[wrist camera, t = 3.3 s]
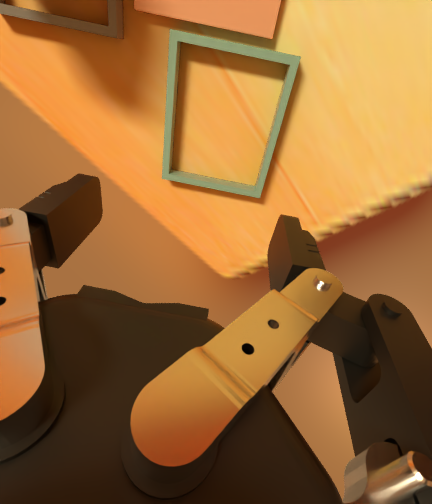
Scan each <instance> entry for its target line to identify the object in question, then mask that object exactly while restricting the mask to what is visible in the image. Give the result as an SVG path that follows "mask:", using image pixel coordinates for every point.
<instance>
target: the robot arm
mask: <svg viewBox="0 0 432 504" xmlns="http://www.w3.org/2000/svg"><path fill="white" fill-rule="evenodd" d="M102 211H103V210H102V198H101V187H100V181H99V179H98V177H94V176H89V175H84V174H77V175H76V176H74V177H73V178H71V179H70V180H68V181H67V182H64V183H61V184H58V185H54V186H52V187H51V188H50V189H48V190H46V191H45V193H44V192H43V193H42V194H40V195H39V197H36V198H34V199H33V200H32V201H30V202H29V203H27V204H25V205H24V206H23V207H21V208H20V209H12V208H2V209H0V504H432V348H431V347H430V345H429V343H428V341H427V339H426V338H425V336H424V334H423V332H422V331H421V329H420V327H419V325H418V324H417V322H416V320H415V318H414V316H413V315H412V313H411V312H410V310H409V309H407V307H406V306H405V305H403V304H402V303H400V302H399V301H397V300H396V299H394V298H392V297H390V296H386V295H382V294H373V295H371V296H370V297H369V299H368V300H367V301H366V302H365V301H363V300H361V299H358V298H356V297H353V296H351V295H349V294H346V293H344V292H343V285H342V283H341V282H340V281H339V279H338V278H337V277H335V276H334V275H333V274H331V273H329V272H327V271H326V269H325V267H324V264H323V261H322V258H321V256H320V254H319V250H318V248H317V244H316V241H315V239H314V237H313V236H312V235H311V234H310V233H309V232H308V231H305V230H302V228H301V225H300V222H299V219H298V218H297V217H292V216H287V215H282V214H281V215H280V217H279V219H278V221H277V224H276V227H275V230H274V233H273V236H272V238H271V241H270V244H269V248H268V267H269V278H270V288H271V291H270V292H269V293H268V294H266V295H265V296H264V297H263V298H262V299H260V300H259V301H258V302H257V303H255V304H254V305H253V306H252V307H250V308H249V309H248V310H247V311H246V312H244V313H243V314H242V315H241V316H239V317H238V318H237V319H236V320H235V321H233V322H232V323H231V324H230V325H228V326H227V327H226V328H223V327H222V326H221V325H219V324H217V323H216V322H214V321H212V320H210V319H208V318H207V317H208V309H206V308H201V307H195V306H190V305H185V304H180V303H152V304H151V303H147V304H146V303H142V302H139V301H137V300H134V299H132V298H130V297H127V296H125V295H123V294H121V293H118V292H116V291H112V290H107V289H101V288H96V287H91V286H86V285H83V287H82V288H81V290H80V291H79V292H78V294H70V295H62V296H57V297H53V298H49V299H48V297H47V292H46V287H45V281H44V276H43V272H42V268H43V267H44V266H49V267H55V268H59V267H61V265H62V264H63V263H64V262H65V261H66V260H67V259H68V257H69V256H70V255H71V254H72V253H73V252H74V251H75V249H77V247H78V246H79V245H80V244H81V243H82V242H83V240H85V238H86V237H87V236H88V235H89V234H90V233H91V232H92V231H93V229H94V228H95V227H96V226H97V225H98V224H99V222H100V220H101V218H102ZM311 342H312V343H314V344H316V345H318V346H320V347H322V348H324V349H326V350H328V351H330V352H332V353H333V356H334V361H335V366H336V370H337V375H338V379H339V384H340V389H341V393H342V397H343V402H344V407H345V412H346V416H347V420H348V425H349V430H350V434H351V439H352V444H353V449H354V453H355V458H353V459H352V460H351V461H349V463H348V464H347V466H346V469H345V473H344V484H345V493H344V498H343V502H342V499H341V497H340V494H339V492H338V490H337V488H336V486H335V484H334V483H333V481H332V479H331V477H330V476H329V474H328V473H327V471H326V470H325V468H324V467H323V465H322V464H321V462H320V461H319V459H318V458H317V457H316V455H315V454H314V452H313V451H312V449H311V448H310V446H309V445H308V443H307V442H306V441H305V439H304V438H303V436H302V435H301V433H300V432H299V430H298V429H297V427H296V426H295V424H294V423H293V422H292V420H291V419H290V417H289V416H288V414H287V413H286V411H285V410H284V409H283V407H282V406H281V404H280V403H279V401H278V400H277V398H276V397H275V395H274V394H273V392H274V391H275V390H276V388H277V387H278V385H279V384H280V382H281V381H282V380H283V378H284V377H285V375H286V374H287V373H288V371H289V370H290V369H291V368H292V366H293V365H294V364H295V362H296V361H297V360H298V358H299V357H300V356H301V355H302V353H303V352H304V351H305V350H306V348H307V347H308V346H309V344H310V343H311Z"/></svg>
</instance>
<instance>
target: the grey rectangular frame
mask: <svg viewBox="0 0 432 504" xmlns="http://www.w3.org/2000/svg"><path fill="white" fill-rule="evenodd" d="M107 4H108V23H109V26H105V25H100V24H96V23H91V22H86V21H82V20H77V19H72V18H67V17H63V16H58V15H53V14H49V13H44V12H39V11H34V10H30V9H25V8H20V7H16V6H11V5H6V4H5V1H4V0H0V14H5V15H9V16H14V17H19V18H24V19H28V20H33V21H38V22H43V23H47V24H52V25H57V26H62V27H66V28H71V29H76V30H80V31H85V32H90V33H95V34H99V35H104V36H109V37H114V38H119V39H123V4H122V0H107Z"/></svg>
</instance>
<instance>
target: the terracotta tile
mask: <svg viewBox="0 0 432 504" xmlns="http://www.w3.org/2000/svg"><path fill="white" fill-rule="evenodd" d="M280 3H281V0H134V9H135V10H137V11H142V12H146V13H151V14H156V15H160V16H165V17H170V18H174V19H179V20H184V21H188V22H193V23H198V24H202V25H207V26H212V27H216V28H221V29H226V30H231V31H235V32H240V33H245V34H249V35H254V36H259V37H263V38H268V39H272V38H273V33H274V29H275V25H276V21H277V16H278V12H279V8H280Z"/></svg>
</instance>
